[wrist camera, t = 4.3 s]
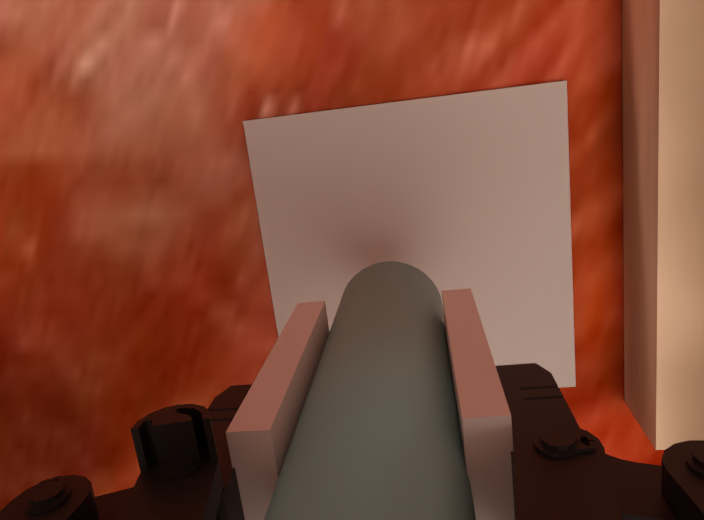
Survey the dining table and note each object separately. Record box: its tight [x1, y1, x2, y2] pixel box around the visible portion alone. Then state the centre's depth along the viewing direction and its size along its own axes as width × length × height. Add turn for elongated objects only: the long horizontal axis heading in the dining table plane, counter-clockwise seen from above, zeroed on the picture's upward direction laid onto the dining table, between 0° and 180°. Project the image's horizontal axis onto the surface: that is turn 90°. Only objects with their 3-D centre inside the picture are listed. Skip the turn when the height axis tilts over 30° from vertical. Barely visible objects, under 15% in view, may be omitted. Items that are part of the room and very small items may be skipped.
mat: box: [243, 80, 576, 387], centre depth 24 cm, size 12×12×1 cm
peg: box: [264, 261, 476, 520], centre depth 13 cm, size 3×3×12 cm
